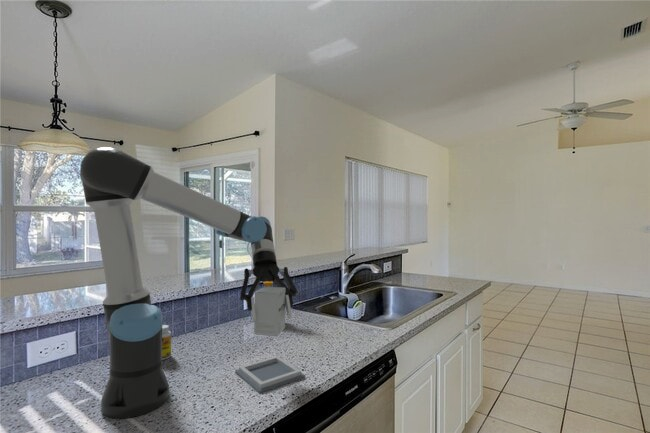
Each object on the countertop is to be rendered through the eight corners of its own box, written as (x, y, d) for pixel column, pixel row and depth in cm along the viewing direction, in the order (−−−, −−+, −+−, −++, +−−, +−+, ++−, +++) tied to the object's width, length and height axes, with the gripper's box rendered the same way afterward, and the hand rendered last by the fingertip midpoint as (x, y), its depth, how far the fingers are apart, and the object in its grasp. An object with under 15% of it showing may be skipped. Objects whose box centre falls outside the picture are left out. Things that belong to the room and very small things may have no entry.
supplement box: (277, 337, 99) (278, 292, 99) (253, 334, 101) (253, 291, 100) (286, 328, 106) (286, 287, 106) (263, 326, 108) (263, 285, 108)
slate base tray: (259, 393, 93) (259, 386, 93) (235, 372, 105) (235, 366, 105) (304, 377, 103) (304, 371, 103) (278, 359, 114) (278, 354, 114)
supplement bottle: (152, 362, 111) (152, 330, 111) (152, 355, 116) (152, 325, 116) (171, 359, 114) (172, 328, 113) (170, 352, 119) (170, 323, 118)
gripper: (294, 261, 121) (306, 321, 107) (228, 264, 114) (231, 328, 99) (298, 248, 116) (311, 308, 102) (229, 250, 109) (233, 315, 94)
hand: (272, 318), depth 101 cm, fingers closed on supplement box, 10 cm apart
